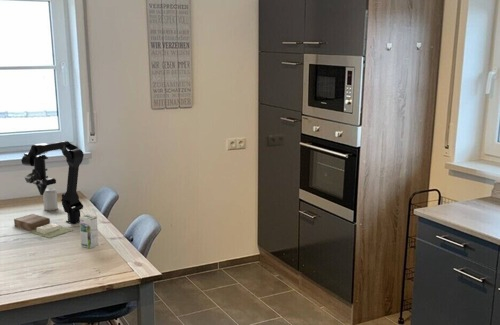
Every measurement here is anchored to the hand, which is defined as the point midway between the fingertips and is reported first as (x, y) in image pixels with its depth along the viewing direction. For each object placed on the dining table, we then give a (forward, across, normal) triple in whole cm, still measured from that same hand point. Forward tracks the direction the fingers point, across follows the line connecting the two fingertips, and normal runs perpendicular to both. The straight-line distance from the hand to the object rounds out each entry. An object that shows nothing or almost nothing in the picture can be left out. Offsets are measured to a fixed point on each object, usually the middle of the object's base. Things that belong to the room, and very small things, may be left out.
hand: (41, 195), depth 292 cm
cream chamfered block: (+10, +23, -14) cm, 29 cm away
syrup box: (+12, +57, -17) cm, 61 cm away
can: (+12, -8, +11) cm, 18 cm away
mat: (+12, +25, -14) cm, 31 cm away
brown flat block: (+12, +10, -14) cm, 21 cm away
